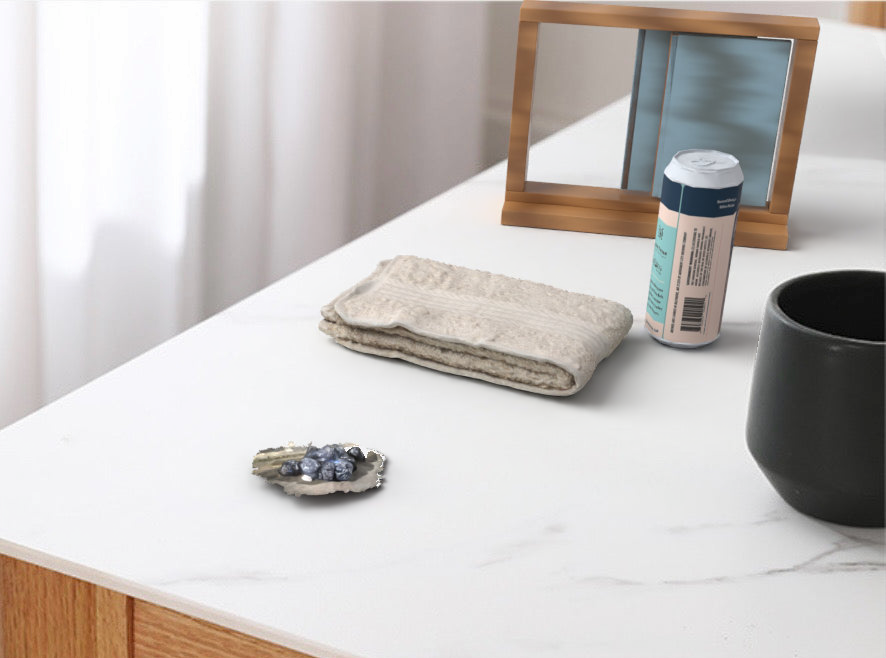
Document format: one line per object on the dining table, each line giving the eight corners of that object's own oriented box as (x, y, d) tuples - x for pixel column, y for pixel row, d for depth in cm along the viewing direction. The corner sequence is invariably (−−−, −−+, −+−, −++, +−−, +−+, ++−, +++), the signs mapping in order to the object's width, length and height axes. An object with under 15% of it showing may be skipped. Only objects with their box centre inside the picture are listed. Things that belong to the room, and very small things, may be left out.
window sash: (731, 177, 123) (755, 19, 117) (733, 199, 118) (757, 35, 113) (622, 168, 124) (640, 11, 119) (620, 189, 120) (638, 27, 114)
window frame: (781, 217, 121) (815, 10, 114) (786, 250, 115) (822, 33, 108) (509, 194, 125) (526, -8, 118) (500, 224, 119) (517, 14, 112)
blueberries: (226, 472, 85) (226, 441, 84) (333, 427, 90) (334, 398, 89) (310, 521, 81) (311, 490, 80) (418, 471, 85) (420, 441, 85)
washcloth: (386, 282, 109) (388, 240, 108) (638, 335, 102) (643, 291, 100) (308, 345, 100) (309, 300, 98) (578, 409, 92) (584, 361, 91)
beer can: (733, 337, 102) (761, 160, 96) (691, 359, 99) (718, 177, 93) (670, 315, 105) (694, 141, 99) (628, 335, 102) (650, 157, 96)
